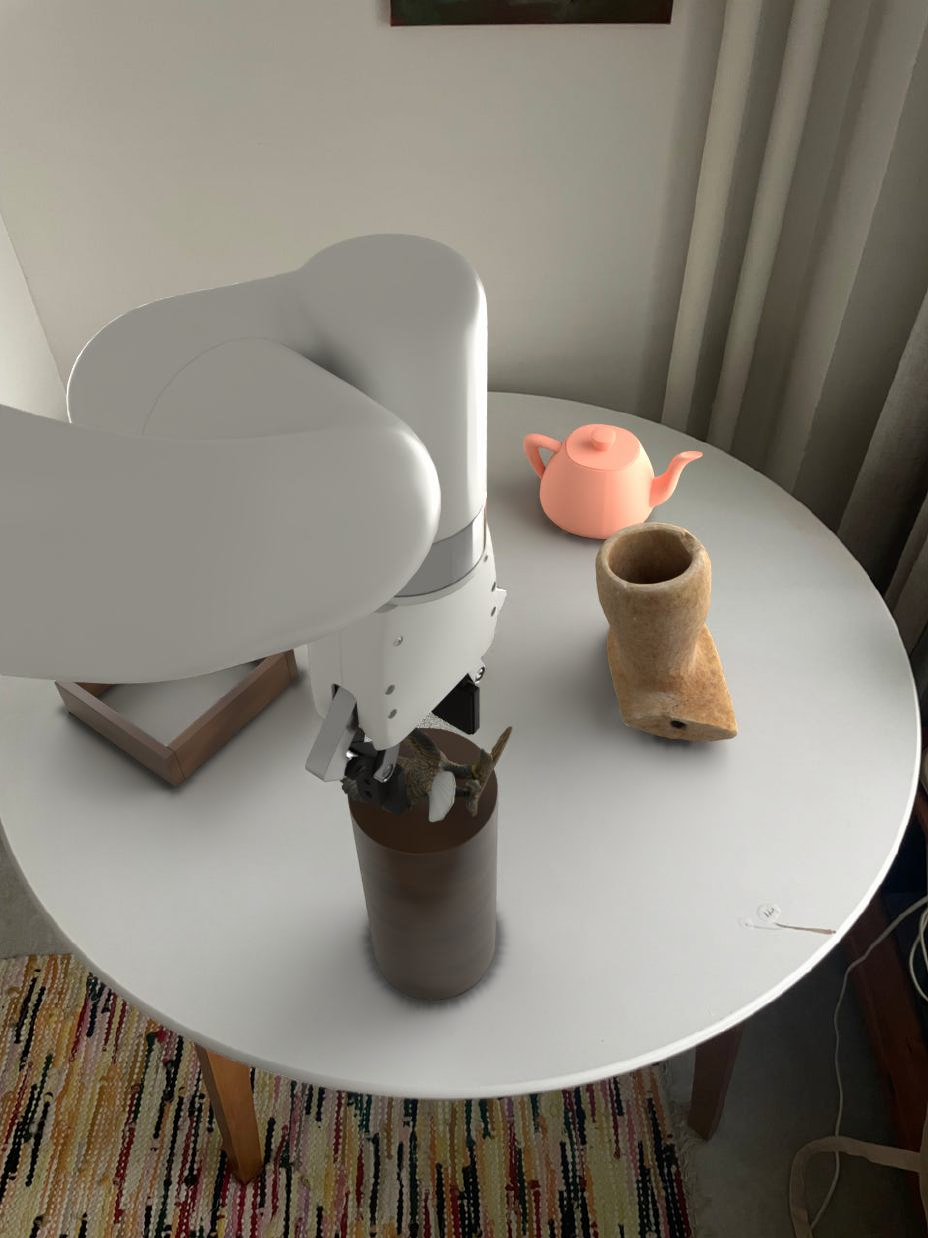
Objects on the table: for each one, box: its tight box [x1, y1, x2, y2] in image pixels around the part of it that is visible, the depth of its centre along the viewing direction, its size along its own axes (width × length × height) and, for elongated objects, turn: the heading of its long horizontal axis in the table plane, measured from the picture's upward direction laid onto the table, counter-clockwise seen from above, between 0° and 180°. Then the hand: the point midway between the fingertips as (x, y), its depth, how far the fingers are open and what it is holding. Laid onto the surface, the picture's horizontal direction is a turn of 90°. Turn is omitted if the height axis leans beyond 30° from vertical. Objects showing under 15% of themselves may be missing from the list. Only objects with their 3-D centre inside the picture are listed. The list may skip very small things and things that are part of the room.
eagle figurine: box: [339, 725, 514, 822], centre depth 58 cm, size 8×7×9 cm
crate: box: [54, 648, 299, 789], centre depth 91 cm, size 15×14×4 cm
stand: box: [347, 727, 499, 1001], centre depth 68 cm, size 9×9×20 cm
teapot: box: [522, 423, 703, 540], centre depth 105 cm, size 12×18×10 cm
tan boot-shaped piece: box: [595, 521, 739, 742], centre depth 87 cm, size 15×12×15 cm
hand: (419, 757), depth 59 cm, fingers closed on eagle figurine, 6 cm apart
